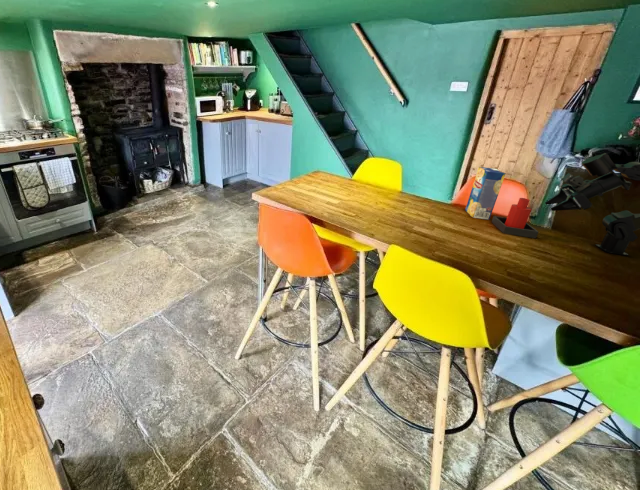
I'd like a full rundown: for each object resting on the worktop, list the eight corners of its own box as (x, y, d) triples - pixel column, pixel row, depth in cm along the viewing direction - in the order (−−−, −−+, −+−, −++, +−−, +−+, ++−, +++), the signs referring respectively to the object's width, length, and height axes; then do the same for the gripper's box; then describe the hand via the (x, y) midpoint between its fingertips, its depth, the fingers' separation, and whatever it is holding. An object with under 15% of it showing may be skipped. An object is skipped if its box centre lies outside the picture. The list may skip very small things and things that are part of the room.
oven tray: (535, 238, 121) (538, 231, 120) (503, 233, 125) (505, 226, 124) (520, 226, 133) (523, 220, 132) (491, 222, 136) (493, 215, 135)
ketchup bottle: (526, 232, 125) (539, 202, 121) (510, 231, 126) (522, 200, 121) (515, 226, 131) (527, 197, 127) (500, 225, 132) (511, 196, 127)
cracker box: (480, 212, 149) (495, 168, 141) (489, 219, 139) (505, 173, 131) (465, 209, 151) (478, 166, 143) (472, 217, 141) (487, 171, 133)
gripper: (577, 164, 120) (531, 185, 129) (594, 172, 105) (540, 195, 114) (595, 187, 118) (547, 206, 128) (615, 198, 104) (559, 219, 113)
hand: (548, 206), depth 121 cm, fingers open, 9 cm apart
